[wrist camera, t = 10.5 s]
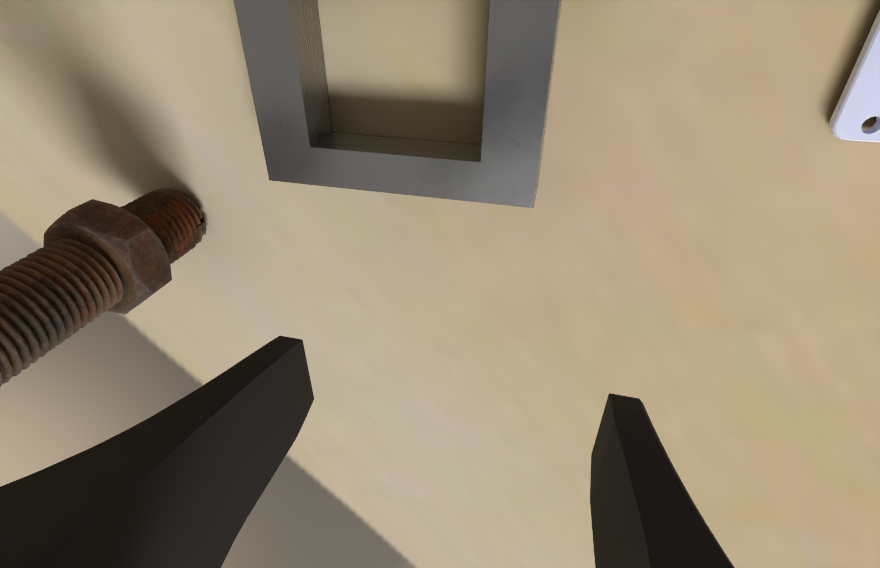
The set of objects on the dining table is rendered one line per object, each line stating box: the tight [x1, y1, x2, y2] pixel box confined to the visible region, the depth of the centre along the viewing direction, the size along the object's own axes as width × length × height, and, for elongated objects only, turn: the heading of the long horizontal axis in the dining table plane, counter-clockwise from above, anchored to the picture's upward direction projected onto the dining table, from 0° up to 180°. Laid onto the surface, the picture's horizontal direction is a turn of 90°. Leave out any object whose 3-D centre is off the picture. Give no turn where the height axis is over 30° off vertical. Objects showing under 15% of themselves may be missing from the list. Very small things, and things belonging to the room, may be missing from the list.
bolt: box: [0, 189, 206, 386], centre depth 18 cm, size 6×5×15 cm
